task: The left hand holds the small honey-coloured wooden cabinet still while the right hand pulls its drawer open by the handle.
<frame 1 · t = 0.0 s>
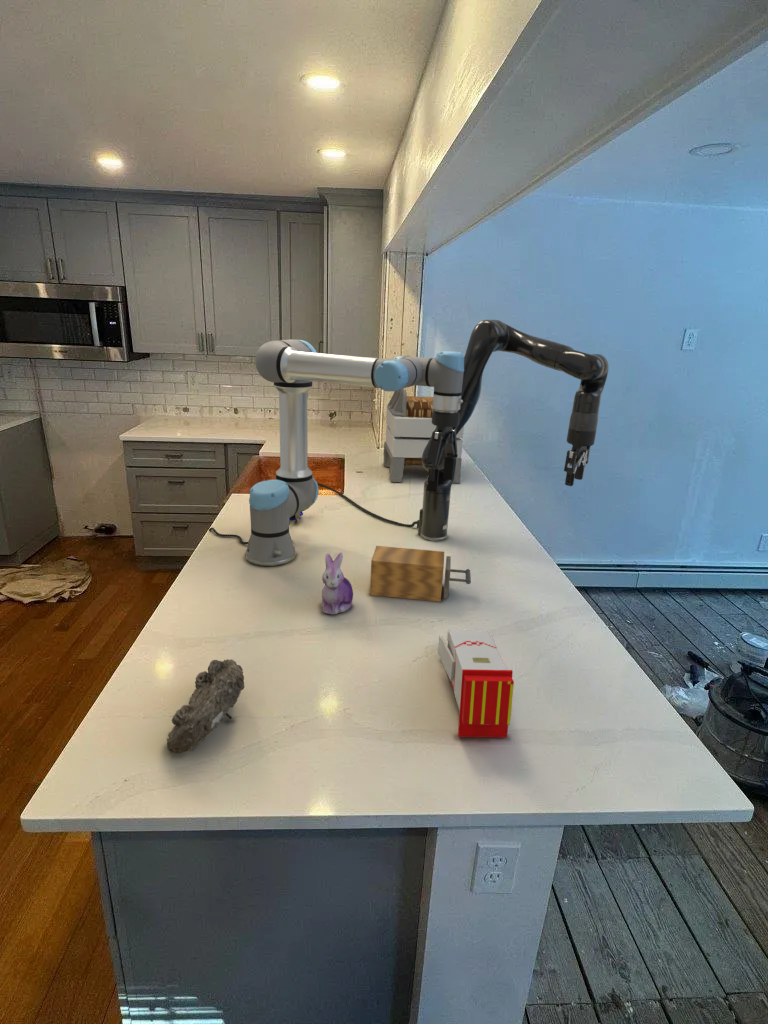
left hand: (440, 485, 161), 28 cm above the counter, tool pointing down, fingers open, 13 cm apart
right hand: (573, 482, 165), 29 cm above the counter, tool pointing down, fingers open, 8 cm apart
figurine character: (294, 519, 209), on the counter
figurine: (336, 607, 150), on the counter
fossil: (212, 717, 108), on the counter
toy: (469, 691, 119), on the counter
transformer: (419, 473, 275), on the counter
cabinet: (406, 589, 160), on the counter
drawer: (427, 574, 158), point 5 cm above the counter, slide at 0.7 cm
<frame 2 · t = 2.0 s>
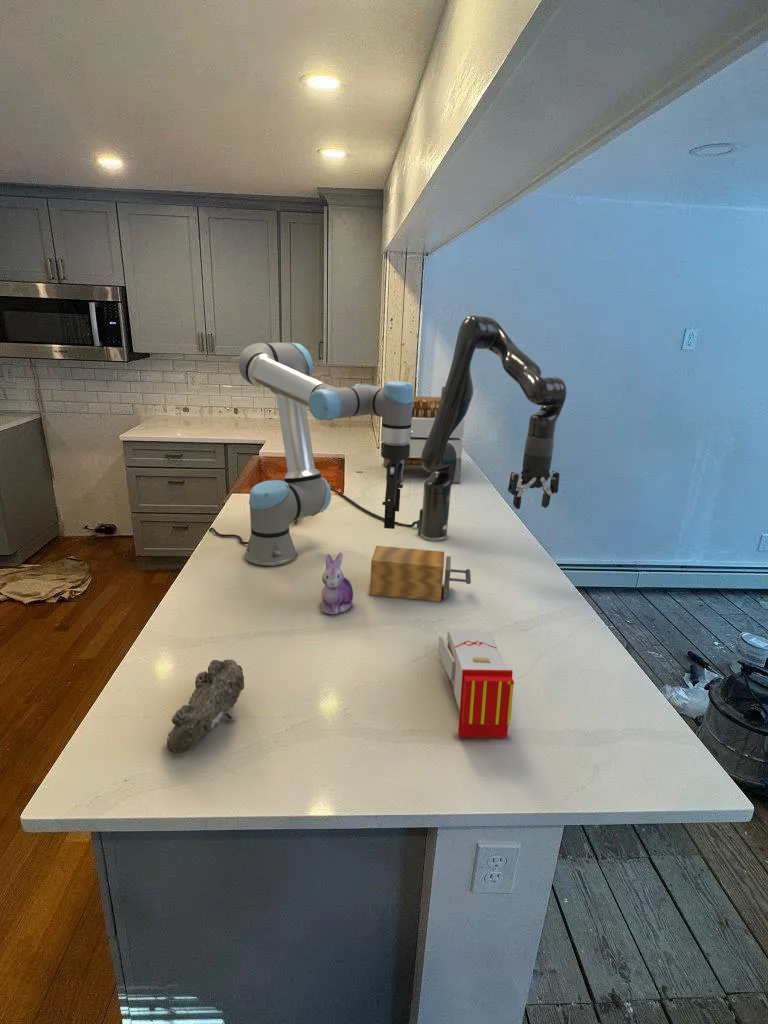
left hand: (391, 519, 154), 21 cm above the counter, tool pointing down, fingers open, 13 cm apart
right hand: (530, 507, 161), 23 cm above the counter, tool pointing down, fingers open, 8 cm apart
nothing on the counter moved.
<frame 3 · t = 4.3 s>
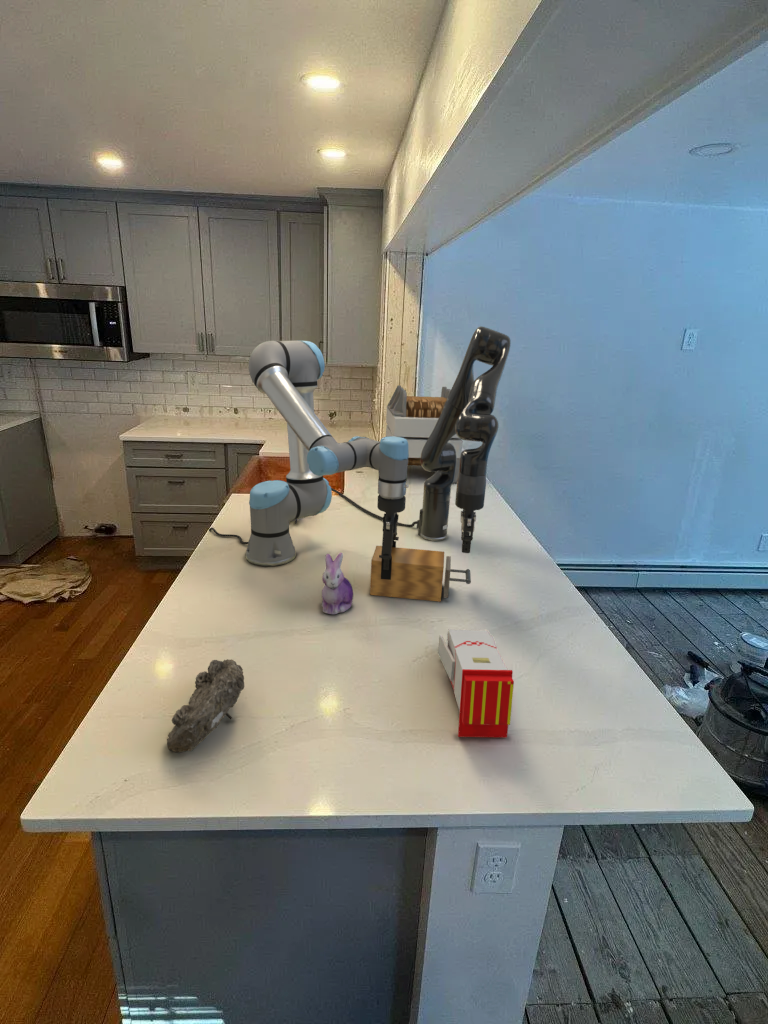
left hand: (388, 570, 159), 6 cm above the counter, tool pointing down, fingers closed on cabinet, 10 cm apart
right hand: (465, 546, 154), 15 cm above the counter, tool pointing down, fingers open, 8 cm apart
cabinet: (406, 589, 160), on the counter, touching left hand
everything else where it was.
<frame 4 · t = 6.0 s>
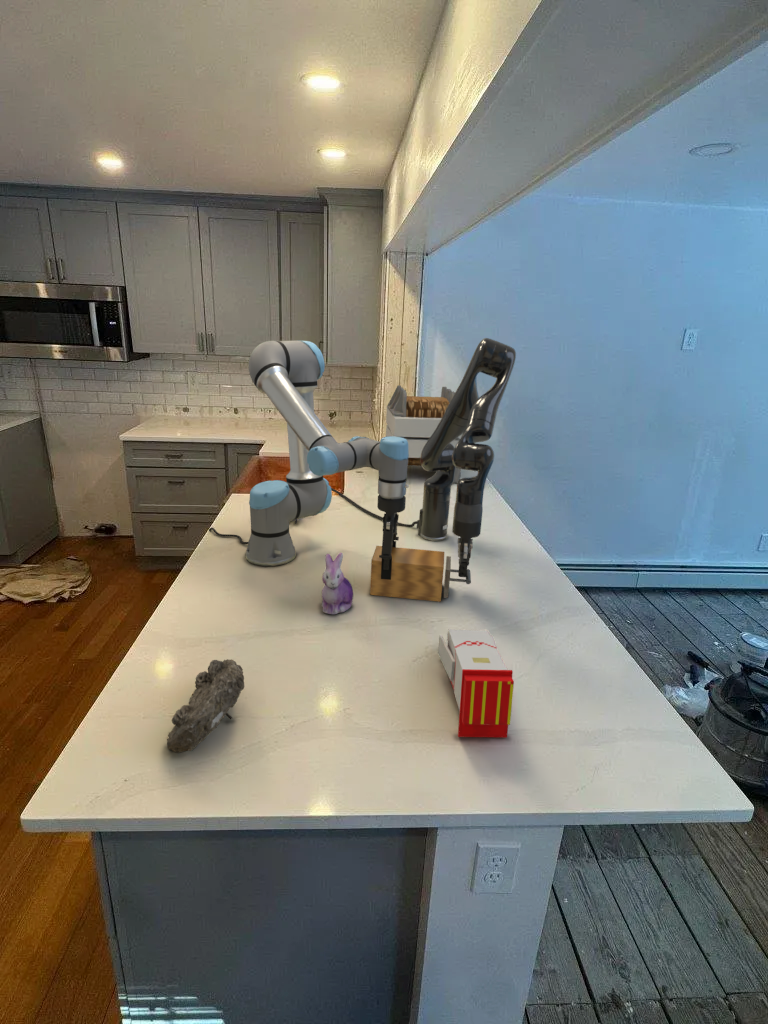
left hand: (388, 570, 159), 6 cm above the counter, tool pointing down, fingers closed on cabinet, 10 cm apart
right hand: (462, 575, 157), 6 cm above the counter, tool pointing down, fingers closed
cabinet: (406, 589, 160), on the counter, touching left hand
drawer: (427, 574, 158), point 5 cm above the counter, slide at 0.7 cm, touching right hand
everything else where it was.
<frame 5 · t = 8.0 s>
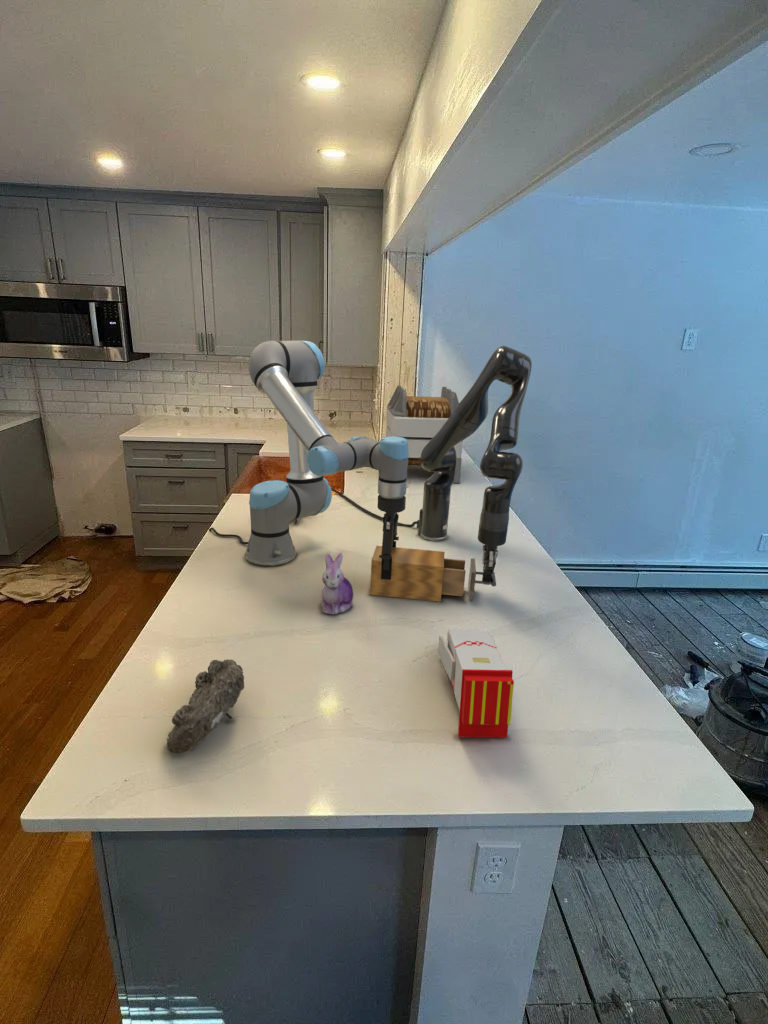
left hand: (388, 570, 159), 6 cm above the counter, tool pointing down, fingers closed on cabinet, 10 cm apart
right hand: (485, 583, 157), 4 cm above the counter, tool pointing down, fingers closed
cabinet: (406, 589, 160), on the counter, touching left hand
drawer: (451, 577, 158), point 5 cm above the counter, slide at 7.5 cm, touching right hand
everything else where it was.
when the left hand's fingers open (6 cm above the counter, at t = 9.7 s): cabinet stays where it is, on the counter.
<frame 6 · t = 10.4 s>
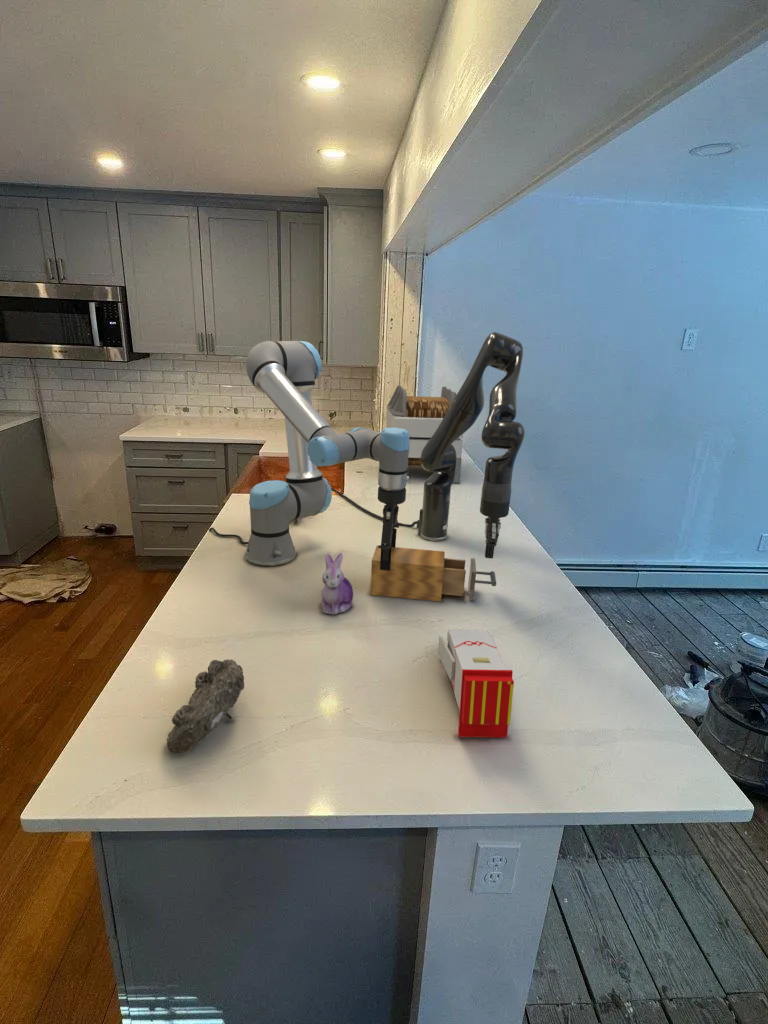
left hand: (387, 559, 158), 9 cm above the counter, tool pointing down, fingers open, 13 cm apart
right hand: (488, 557, 154), 12 cm above the counter, tool pointing down, fingers closed
cabinet: (406, 589, 161), on the counter
drawer: (451, 576, 158), point 5 cm above the counter, slide at 7.5 cm
everything else where it was.
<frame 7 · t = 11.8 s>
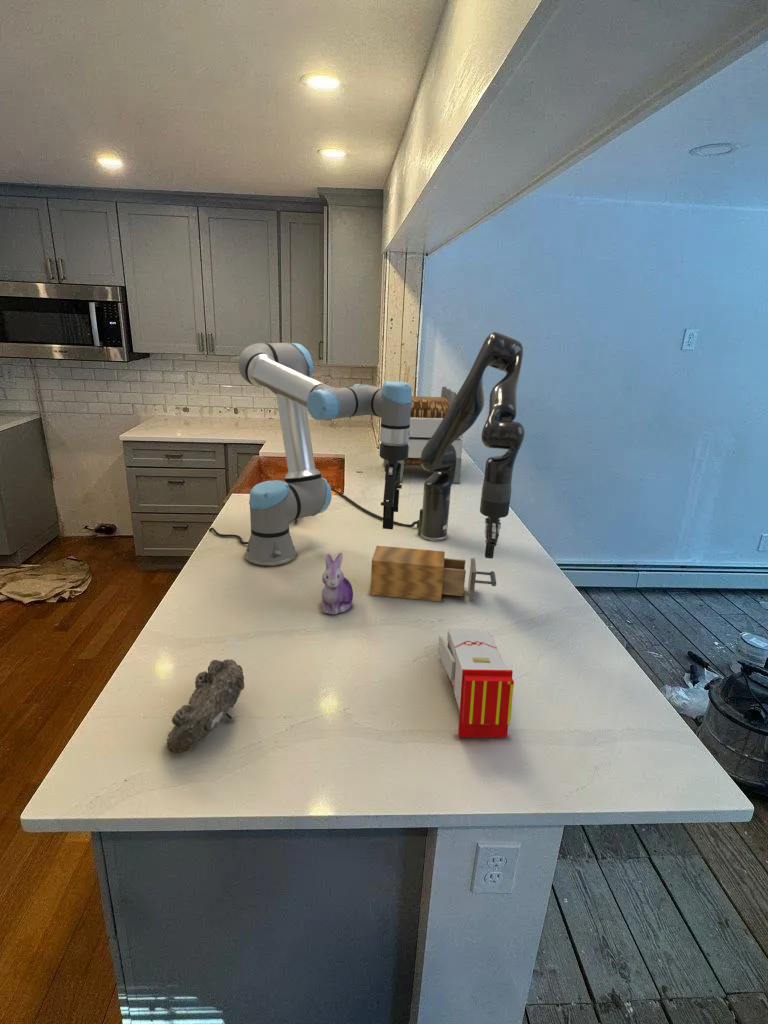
left hand: (390, 519, 154), 21 cm above the counter, tool pointing down, fingers open, 13 cm apart
right hand: (488, 557, 154), 12 cm above the counter, tool pointing down, fingers closed
nothing on the counter moved.
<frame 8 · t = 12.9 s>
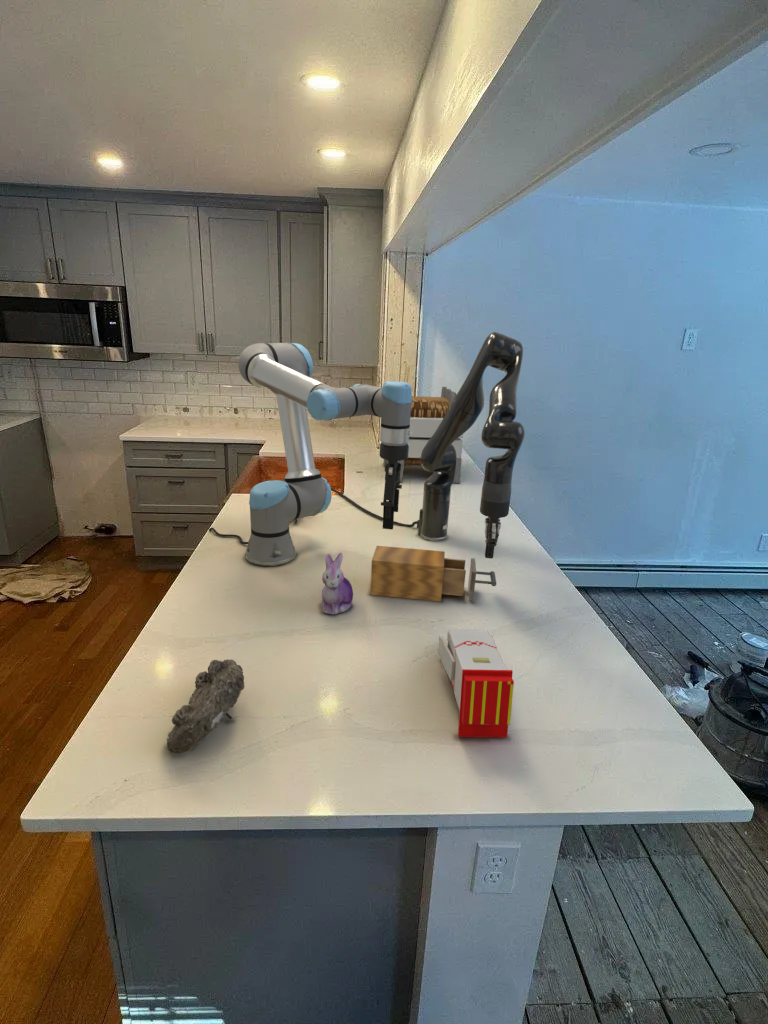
left hand: (390, 519, 154), 21 cm above the counter, tool pointing down, fingers open, 13 cm apart
right hand: (488, 557, 154), 12 cm above the counter, tool pointing down, fingers closed
nothing on the counter moved.
at the end: drawer slide at 7.5 cm; cabinet tilted 0°; cabinet never tilted more than 1° during the clip; cabinet moved 0.1 cm from its start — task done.
